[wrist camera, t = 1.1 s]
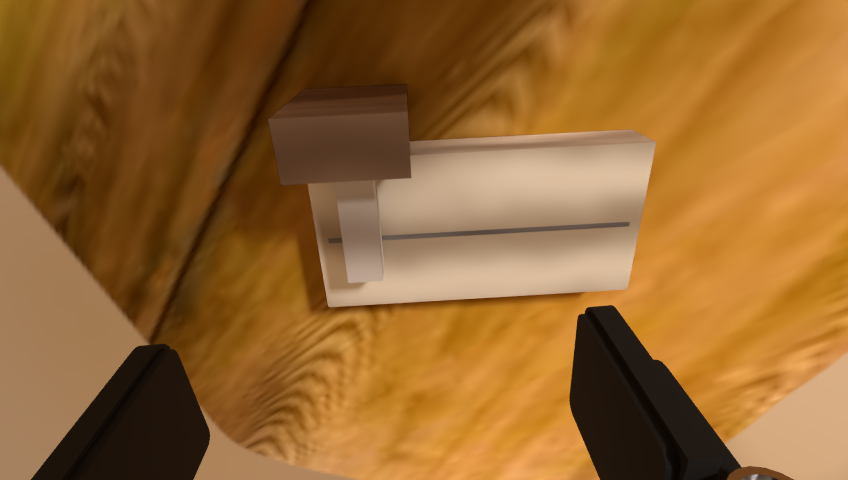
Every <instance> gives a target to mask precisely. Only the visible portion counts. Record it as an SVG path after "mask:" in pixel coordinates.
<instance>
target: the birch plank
mask: <svg viewBox="0 0 848 480" xmlns="http://www.w3.org/2000/svg"><path fill="white" fill-rule="evenodd" d="M655 146H656V142H655V141H653V140H651V139H649V138H647V137H646V136H644V135H642V134H640V133H638V132H636V131H634V130H613V131H595V132H576V133H557V134H538V135H519V136H501V137H482V138H463V139H444V140H425V141H410V160H411V178H405V179H386V180H376V184H377V194H378V204H379V215H380V225H381V236H382V246H383V257H384V273H383V281H373V282H356V283H348V277H347V270H346V263H345V256H344V249H343V242H342V235H341V228H340V220H339V213H338V206H337V199H336V192H335V185H334V182H331V183H313V184H308V190H309V196H310V202H311V208H312V214H313V220H314V226H315V231H316V237H317V243H318V249H319V255H320V261H321V267H322V273H323V279H324V284H325V290H326V296H327V302H328V307H341V306H358V305H374V304H391V303H408V302H425V301H441V300H458V299H475V298H491V297H508V296H525V295H542V294H558V293H575V292H592V291H608V290H625V289H628V284H629V279H630V273H631V268H632V263H633V258H634V253H635V248H636V243H637V238H638V233H639V227H640V222H641V217H642V212H643V207H644V202H645V197H646V192H647V187H648V181H649V176H650V171H651V166H652V161H653V156H654V151H655Z"/></svg>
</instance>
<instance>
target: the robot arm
mask: <svg viewBox="0 0 848 480" xmlns="http://www.w3.org/2000/svg"><path fill="white" fill-rule="evenodd" d="M570 407H571V411H572V414H573V417H574V419H575V422H576V424H577V426H578V429H579V431H580V433H581V436H582V438H583V440H584V443H585V445H586V447H587V450H588V452H589V454H590V457H591V459H592V462H593V464H594V466H595V469H596V471H597V473H598V476H599V478H600V480H793V479H791V478H790V477H788V476H785V475H784V474H782V473H779V472H776V471H773V470H770V469H767V468H762V467H751V466H749V467H743V468H742V467H741V466H740V465H739V463H738V462H737V461H736V459H735V458H734V457H733V455H732V454H731V453H730V451H729V450H728V449H727V447H726V446H725V444H724V443H723V442H722V440H721V439H720V438H719V436H718V435H717V434H716V432H715V431H714V430H713V428H712V427H711V426H710V424H709V423H708V422H707V420H706V419H705V418H704V416H703V415H702V414H701V412H700V411H699V410H698V408H697V407H696V406H695V404H694V403H693V402H692V400H691V399H690V398H689V396H688V395H687V394H686V392H685V391H684V390H683V388H682V387H681V385H680V384H679V383H678V381H677V380H676V379H675V377H674V376H673V375H672V373H671V372H670V371H669V369H668V368H667V367H666V366H665V365H664V364H663V363H662V362H661V361H659V360H653V359H652V357H651V356H650V355H649V353H648V352H647V351H646V349H645V348H644V346H643V345H642V344H641V342H640V341H639V339H638V338H637V337H636V335H635V334H634V333H633V331H632V330H631V328H630V327H629V326H628V324H627V323H626V321H625V320H624V319H623V317H622V316H621V315H620V313H619V312H618V310H617V309H616V308H615V307H614V306H612V305H609V306H597V307H588V308H587V309H586V311H585V314H580V315H579V316H578V320H577V330H576V340H575V350H574V360H573V369H572V379H571V389H570ZM209 440H210V432H209V428H208V426H207V423H206V421H205V419H204V416H203V414H202V411H201V409H200V406H199V404H198V401H197V399H196V397H195V394H194V392H193V389H192V387H191V384H190V382H189V380H188V377H187V375H186V372H185V370H184V367H183V365H182V363H181V360H180V358H179V355H178V353H177V352H176V351H175V350H171V349H170V348H169V346H167V345H166V344H157V345H145V346H139V347H136V348H135V349H134V350H133V351H132V352H131V354H130V355H129V356H128V357H127V359H126V360H125V361H124V362H123V364H122V365H121V366H120V367H119V369H118V370H117V371H116V373H115V374H114V375H113V376H112V378H111V379H110V380H109V381H108V383H107V384H106V385H105V387H104V388H103V389H102V390H101V392H100V393H99V394H98V395H97V397H96V398H95V399H94V401H93V402H92V403H91V404H90V406H89V407H88V408H87V409H86V410H85V412H84V413H83V414H82V416H81V417H80V418H79V419H78V421H77V422H76V423H75V425H74V426H73V427H72V428H71V429H70V431H69V432H68V433H67V434H66V436H65V437H64V438H63V440H62V441H61V442H60V443H59V445H58V446H57V447H56V449H55V450H54V451H53V452H52V453H51V455H50V456H49V457H48V459H47V460H46V461H45V462H44V464H43V465H42V466H41V468H40V469H39V470H38V471H37V473H36V474H35V475H34V477H33V478H32V479H31V480H193V479H194V477H195V475H196V472H197V470H198V468H199V465H200V463H201V461H202V459H203V456H204V454H205V452H206V450H207V447H208V445H209Z"/></svg>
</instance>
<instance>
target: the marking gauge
mask: <svg viewBox="0 0 848 480" xmlns="http://www.w3.org/2000/svg"><path fill="white" fill-rule="evenodd" d="M268 122H269V127H270V132H271V137H272V142H273V147H274V153H275V158H276V163H277V168H278V173H279V178H280V183H281V185H294V184H313V183H331V182H334V185H335V192H336V199H337V206H338V213H339V220H340V228H341V235H342V242H343V249H344V256H345V263H346V270H347V277H348V283H356V282H373V281H383V273H384V257H383V246H382V236H381V225H380V215H379V204H378V194H377V184H376V180H386V179H405V178H411V160H410V140H409V121H408V104H407V87H406V84H398V85H378V86H358V87H339V88H319V89H304V90H303V91H301V92H300V93H299V94H298V95H297V96H295V97H294V98H293V99H292V100H291V101H289V102H288V103H287V104H286V105H285V106H283V107H282V108H281V109H280V110H278V111H277V112H276V113H275V114H274V115H272V116H271V117H270V118H269V119H268Z"/></svg>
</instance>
